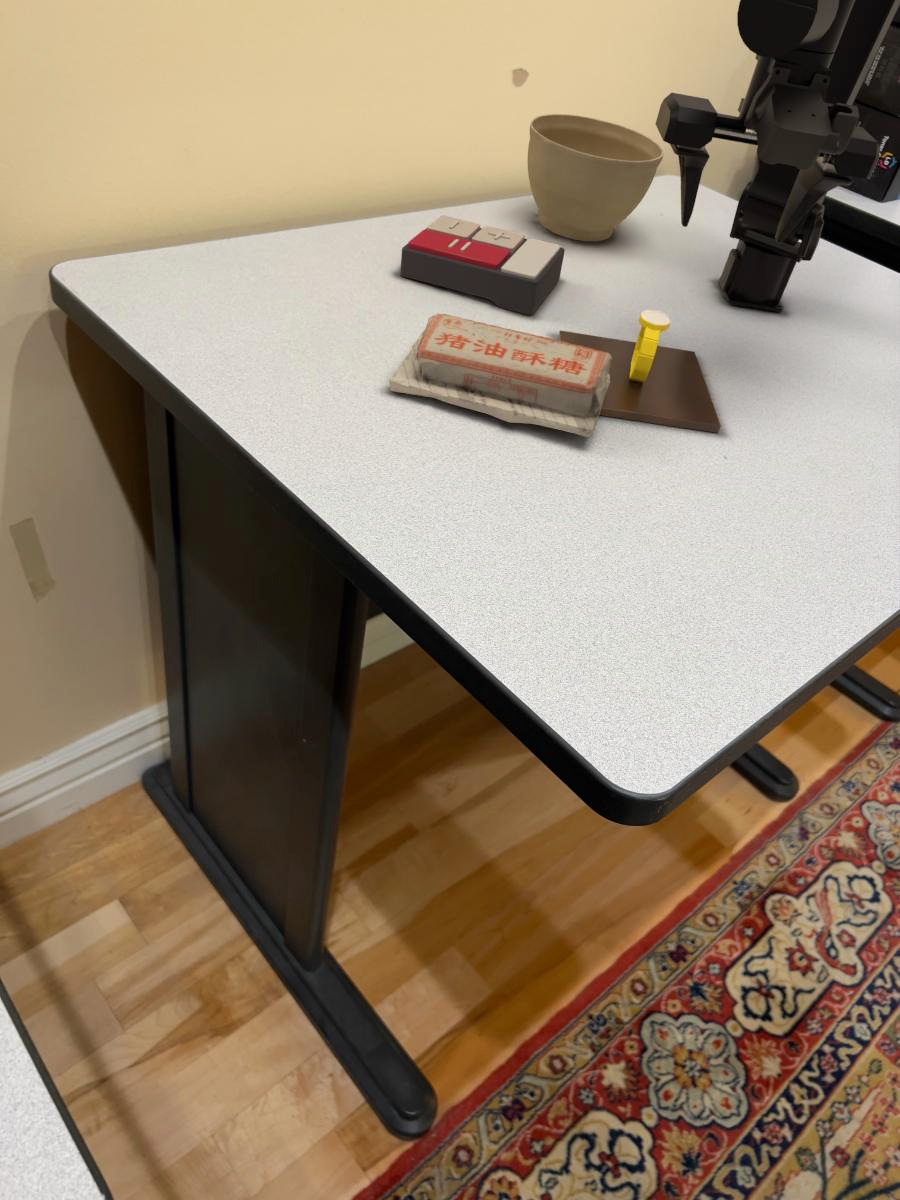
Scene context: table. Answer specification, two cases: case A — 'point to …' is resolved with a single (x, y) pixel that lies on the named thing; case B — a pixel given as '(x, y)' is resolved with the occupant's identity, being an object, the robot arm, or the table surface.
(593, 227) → the planter bowl
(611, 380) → the coaster
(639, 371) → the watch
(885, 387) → the table surface
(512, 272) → the calculator
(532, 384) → the packaged product
